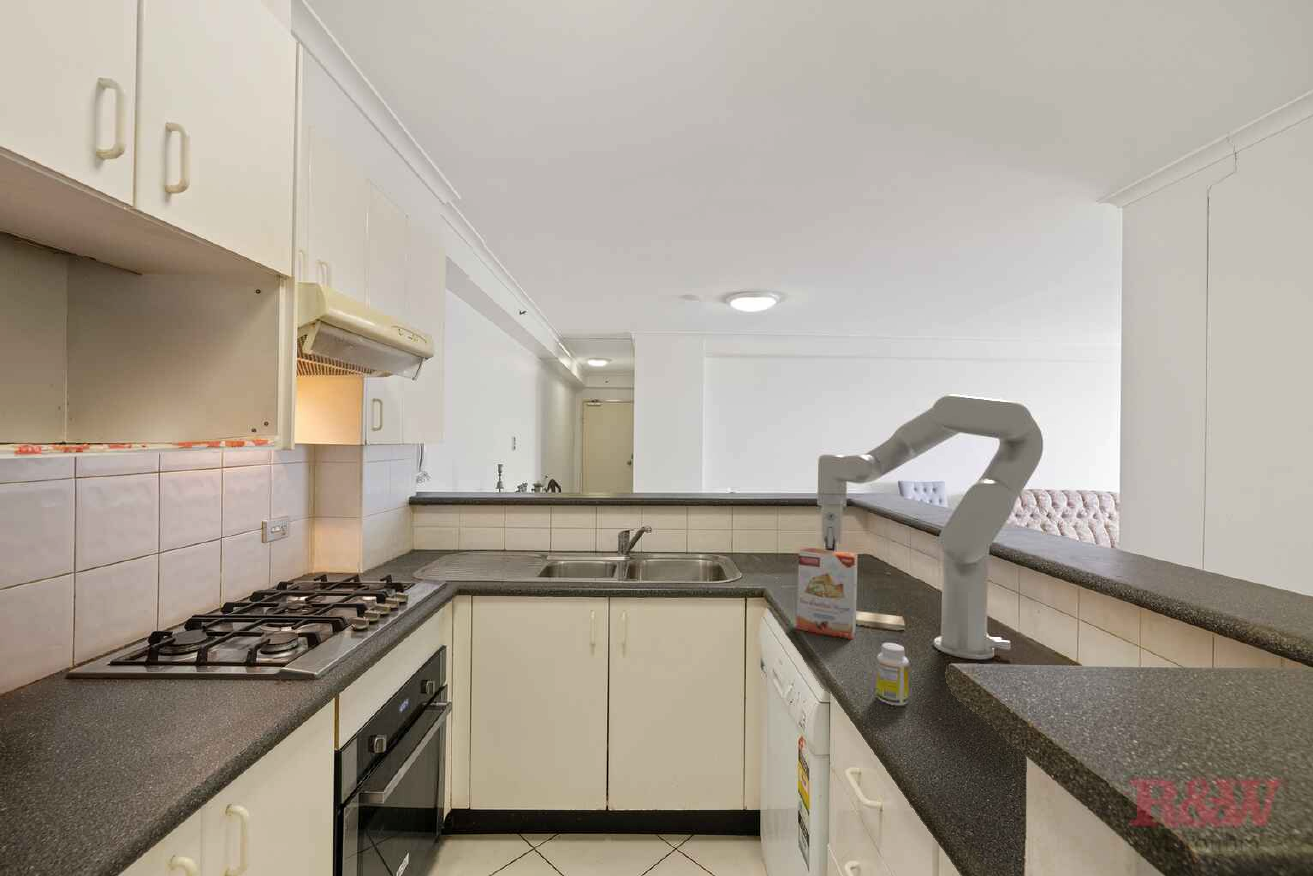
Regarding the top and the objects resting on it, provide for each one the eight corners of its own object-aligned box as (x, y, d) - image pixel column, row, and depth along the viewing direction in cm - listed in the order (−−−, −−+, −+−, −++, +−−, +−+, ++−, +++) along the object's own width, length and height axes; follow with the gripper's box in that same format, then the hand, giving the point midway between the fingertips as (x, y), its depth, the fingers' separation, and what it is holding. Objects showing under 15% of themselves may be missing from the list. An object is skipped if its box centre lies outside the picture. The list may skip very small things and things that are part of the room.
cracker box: (795, 630, 143) (797, 549, 143) (801, 624, 148) (803, 546, 148) (852, 640, 136) (854, 556, 136) (856, 633, 142) (858, 552, 142)
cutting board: (902, 622, 152) (902, 616, 152) (904, 631, 144) (905, 625, 144) (856, 616, 156) (856, 611, 156) (856, 625, 148) (856, 619, 148)
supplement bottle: (898, 693, 108) (899, 640, 108) (914, 707, 102) (915, 651, 102) (870, 693, 107) (872, 641, 107) (885, 707, 102) (886, 652, 102)
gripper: (845, 503, 142) (844, 575, 141) (846, 498, 156) (845, 563, 155) (815, 501, 144) (814, 572, 144) (819, 496, 158) (817, 560, 158)
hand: (830, 567), depth 150 cm, fingers closed
